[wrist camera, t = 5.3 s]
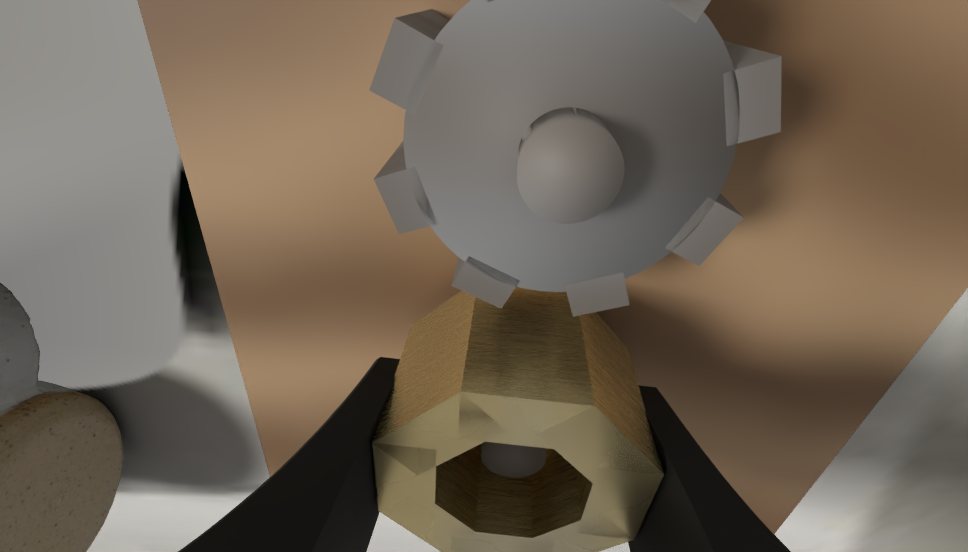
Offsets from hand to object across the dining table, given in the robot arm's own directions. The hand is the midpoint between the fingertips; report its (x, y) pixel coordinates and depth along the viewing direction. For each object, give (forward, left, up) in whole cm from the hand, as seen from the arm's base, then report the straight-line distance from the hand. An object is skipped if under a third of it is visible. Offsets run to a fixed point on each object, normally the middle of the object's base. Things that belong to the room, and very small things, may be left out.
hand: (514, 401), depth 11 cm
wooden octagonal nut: (0, 0, -1) cm, 1 cm away
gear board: (+1, -1, -3) cm, 3 cm away
